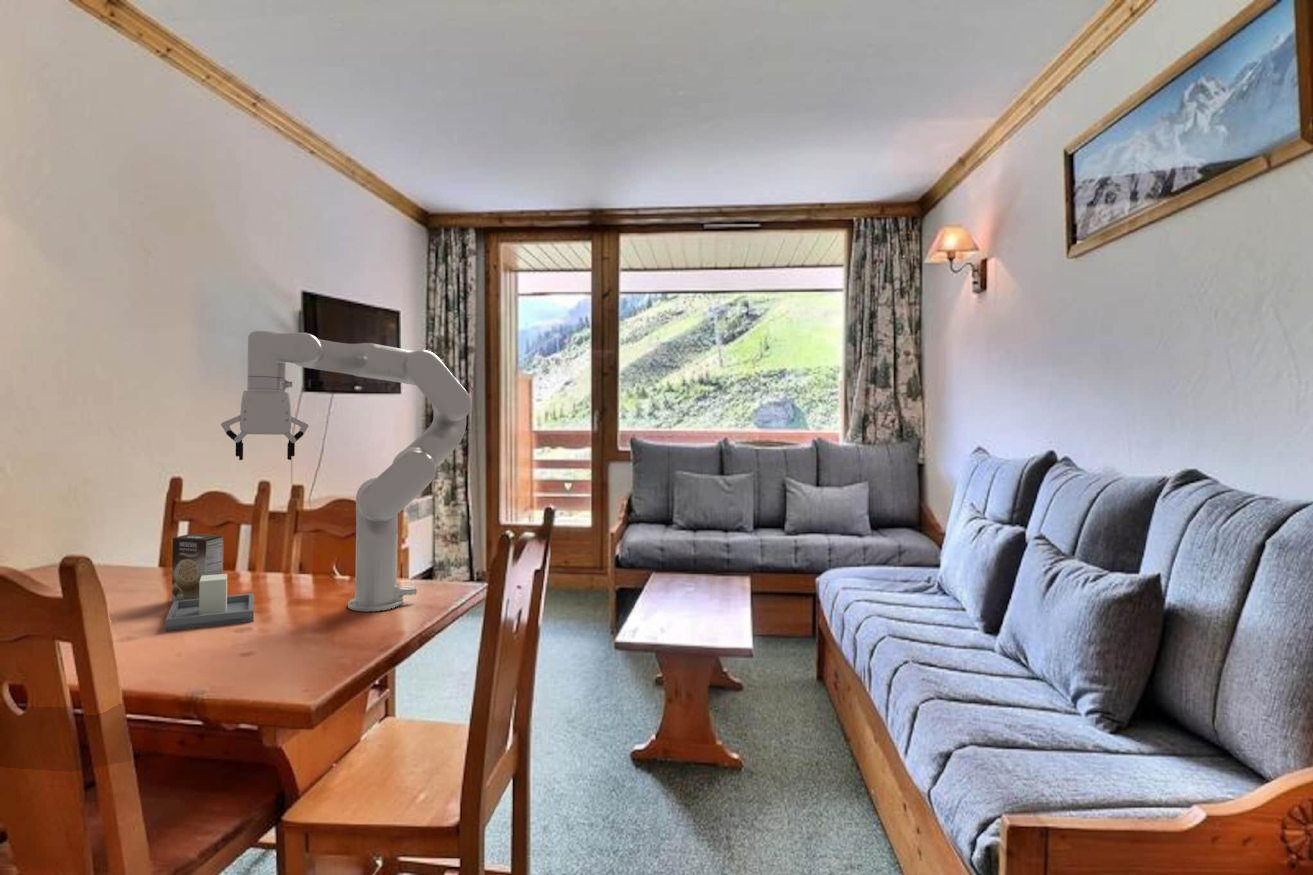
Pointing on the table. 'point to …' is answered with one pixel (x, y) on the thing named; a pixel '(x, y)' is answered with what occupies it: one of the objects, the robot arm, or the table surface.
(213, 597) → the sage block
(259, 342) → the robot arm
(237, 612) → the tray
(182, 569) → the coffee box
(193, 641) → the table surface
